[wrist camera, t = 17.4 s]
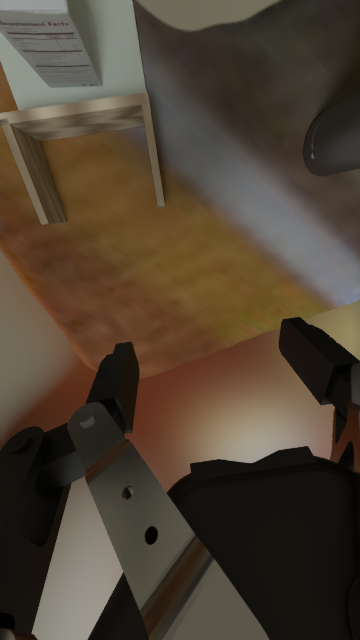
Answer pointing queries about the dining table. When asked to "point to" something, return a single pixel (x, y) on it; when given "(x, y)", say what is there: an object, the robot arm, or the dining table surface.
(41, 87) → the mat
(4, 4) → the supplement box
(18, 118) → the box
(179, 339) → the dining table surface
